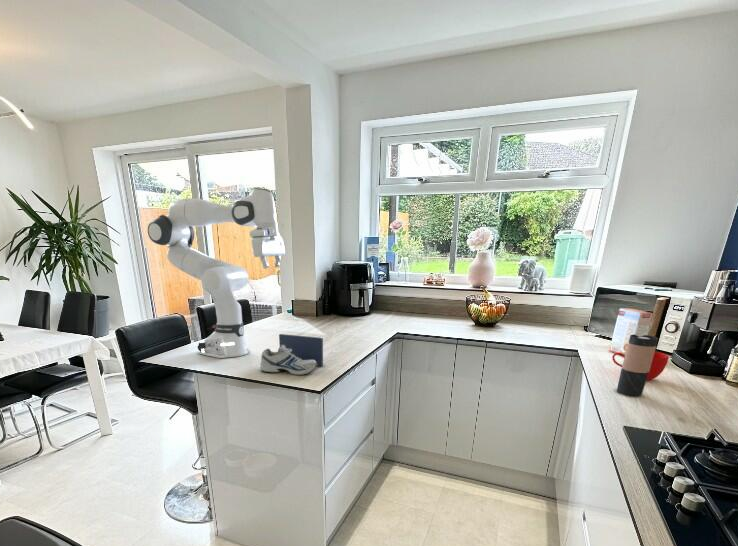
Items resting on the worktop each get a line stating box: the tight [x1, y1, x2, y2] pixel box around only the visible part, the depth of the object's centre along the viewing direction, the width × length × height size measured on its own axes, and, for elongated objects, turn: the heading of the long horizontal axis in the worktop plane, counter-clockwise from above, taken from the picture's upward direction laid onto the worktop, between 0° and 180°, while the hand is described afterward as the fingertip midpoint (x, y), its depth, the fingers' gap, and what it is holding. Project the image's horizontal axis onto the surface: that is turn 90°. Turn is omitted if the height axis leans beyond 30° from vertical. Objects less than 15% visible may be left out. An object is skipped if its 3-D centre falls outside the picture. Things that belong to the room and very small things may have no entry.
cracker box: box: [608, 307, 654, 355], centre depth 182 cm, size 14×6×21 cm, turn 179°
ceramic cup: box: [611, 350, 670, 382], centre depth 152 cm, size 13×17×10 cm
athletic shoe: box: [259, 345, 318, 376], centre depth 158 cm, size 10×23×12 cm, turn 89°
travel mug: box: [616, 334, 659, 398], centre depth 135 cm, size 8×8×20 cm
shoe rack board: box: [278, 333, 324, 368], centre depth 167 cm, size 20×1×12 cm, turn 69°
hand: (272, 267), depth 164 cm, fingers open, 8 cm apart
